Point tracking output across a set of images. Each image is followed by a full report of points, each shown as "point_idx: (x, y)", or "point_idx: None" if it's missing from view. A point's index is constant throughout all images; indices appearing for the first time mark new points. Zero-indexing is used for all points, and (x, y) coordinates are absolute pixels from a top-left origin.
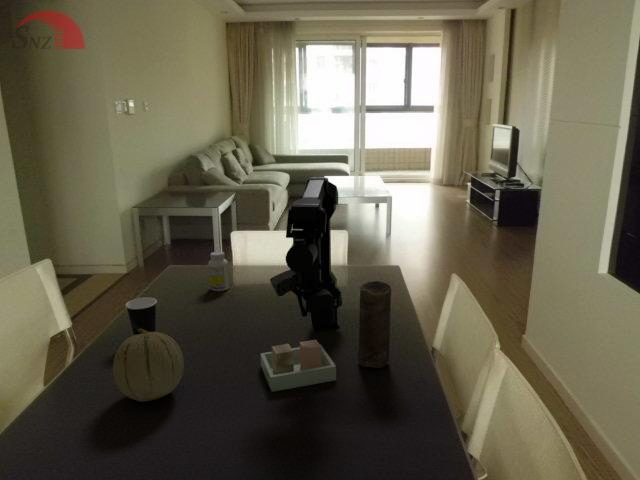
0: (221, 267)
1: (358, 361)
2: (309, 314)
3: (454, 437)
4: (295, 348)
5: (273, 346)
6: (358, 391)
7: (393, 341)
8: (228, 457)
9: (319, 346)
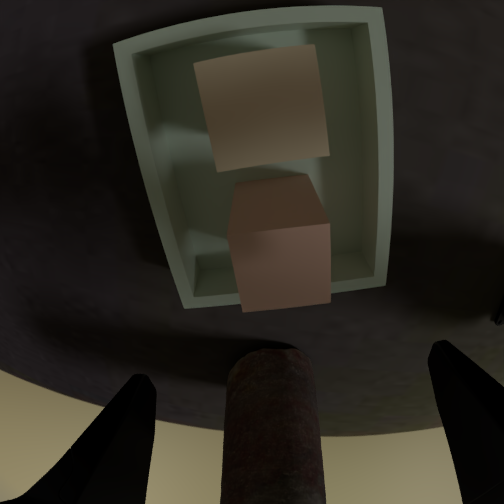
0: None
1: (276, 350)
2: (73, 488)
3: (29, 380)
4: (388, 181)
5: (311, 54)
6: (130, 312)
7: (366, 407)
8: None
9: (248, 307)
